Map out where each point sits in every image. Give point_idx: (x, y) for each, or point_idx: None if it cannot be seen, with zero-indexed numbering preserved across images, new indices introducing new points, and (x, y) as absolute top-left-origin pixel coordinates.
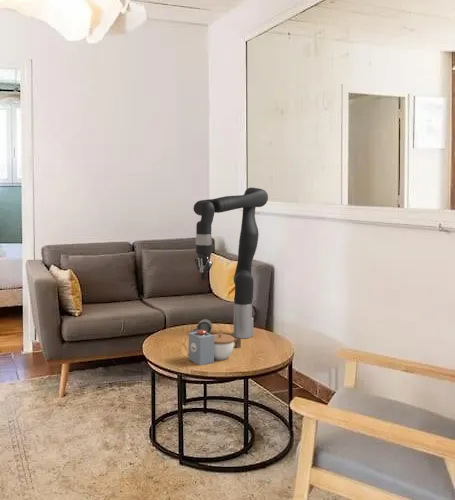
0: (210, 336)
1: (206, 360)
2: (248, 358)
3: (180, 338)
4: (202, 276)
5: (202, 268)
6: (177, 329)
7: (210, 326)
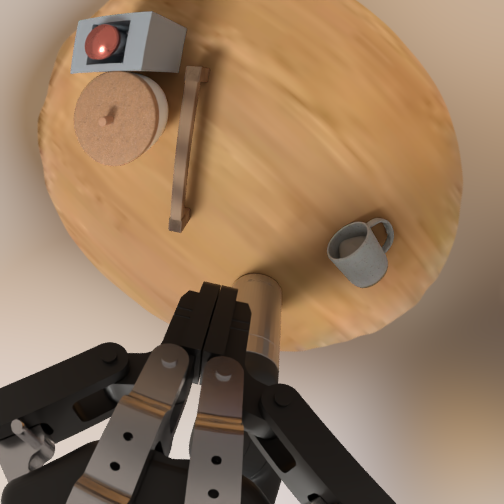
0: (72, 58)
1: None
2: (97, 166)
3: (380, 159)
4: (194, 310)
5: (150, 393)
6: (443, 226)
7: (330, 256)
